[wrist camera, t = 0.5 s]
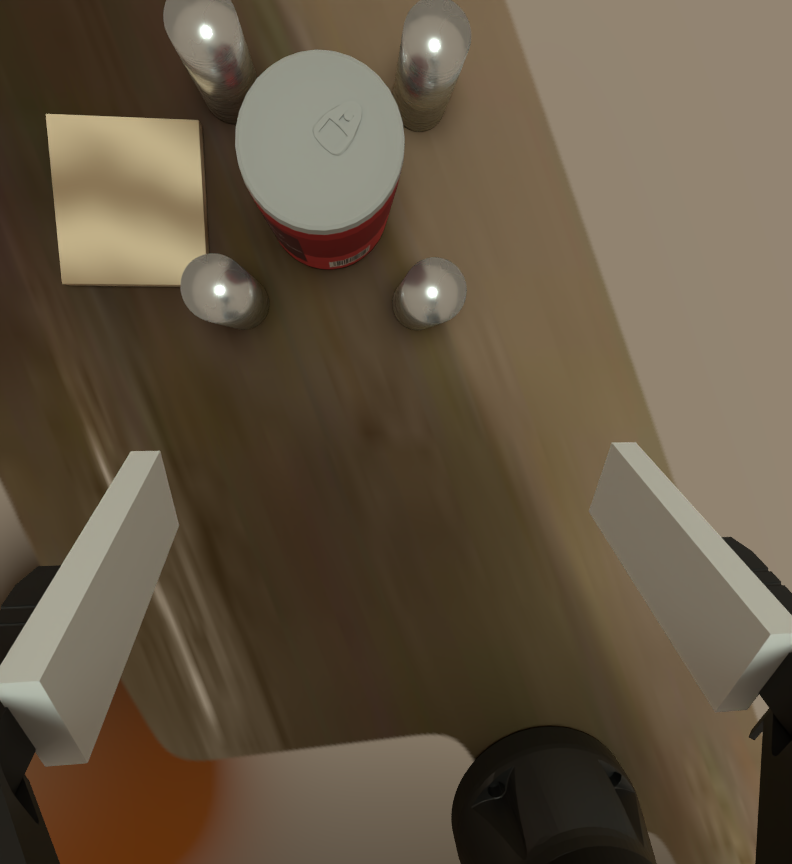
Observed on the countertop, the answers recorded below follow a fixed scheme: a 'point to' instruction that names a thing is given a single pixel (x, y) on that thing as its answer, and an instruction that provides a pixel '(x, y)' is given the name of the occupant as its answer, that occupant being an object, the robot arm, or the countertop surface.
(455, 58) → the cylinder
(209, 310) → the cylinder
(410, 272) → the cylinder
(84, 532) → the robot arm
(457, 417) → the countertop surface
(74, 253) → the coaster
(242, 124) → the canned food
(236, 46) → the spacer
